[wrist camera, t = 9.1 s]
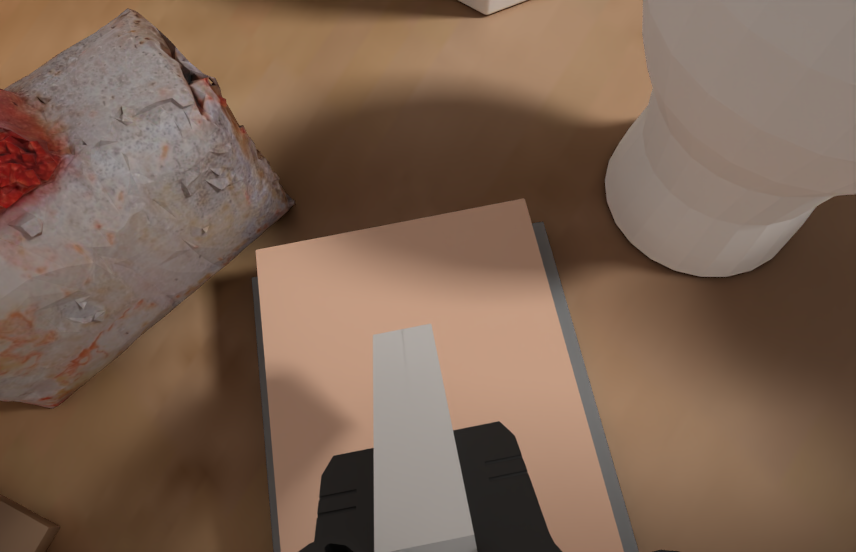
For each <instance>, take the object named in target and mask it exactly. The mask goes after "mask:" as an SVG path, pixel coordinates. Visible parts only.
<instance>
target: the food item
mask: <svg viewBox="0 0 856 552" xmlns="http://www.w3.org/2000/svg"><path fill="white" fill-rule="evenodd" d="M208 79H210V80H211V81H212V82H213V83H212V85H211V84H210V82H209V81H208ZM259 156H262V157H263V158H261V157H259ZM279 180H280V179H279V177H278V175H277V173H275V172H273V171H272V170H271V167H270V165H269V162H268V161H267V159H266V158H265V157H264V156H263V155H262V154H261V152H259V151H258V150H257V149H256V147H255V144H254V142H253V141H252V139H251V138H250V137H249V136H248V134H247V132H246V130H245V128H244V126H243V125H242V126H239V124H238V122H237V121H236V119H235V117H234V115H233V113H232V112H231V110H230V108H229V107H228V105H227V104H226V99H224V98H223V97H222V95H221V90H220V87H219V85H218V83H217V81H216V79H215V78H213V77H210V76H208V75H205V74H203V73H202V72H201V71H200V70H198V69H197V68H196V67H195V66H193V65H192V64H191V63H190V62H189V61H188V60H187V59H186V58H185V57H184V56H183V55H182V54H181V53H180V51H179V50H178V49H177V48H176V47H175V46H174V45H173V44H172V43H171V42H170V40H169V39H168V38H167V37H166V36H164V35H163V34H162V33H161V32H160V31H159V30H158V29H157V28H156V27H155V26H153V25H152V24H151V23H150V22H149V21H147V20H146V19H145V18H144V17H143V16H142V15H140V14H139V13H138V12H136V11H134V10H131V9H126V10H125V11H124V12H123V13H121V14H120V15H119V16H118V17H117V18H115V19H114V20H112V21H111V22H110V23H108V24H107V25H105V26H104V27H102V28H100V29H99V30H98V31H97V32H96V33H94V34H92V35H90V36H89V37H87V38H85V39H83V40H82V41H80V42H78V43H76V44H75V45H73V46H71V47H70V48H68V49H66V50H65V51H63V52H61V53H59V54H58V55H56V56H55V57H53V58H52V59H51V60H49V61H48V62H46V63H45V64H44V65H42V66H41V67H39V68H38V69H36V70H35V71H34V72H32V73H31V74H29V75H28V76H25V77H24V78H22V79H20V80H18V81H17V82H15V83H13V84H11V85H10V86H8V87H7V88H5V89H4V90H3V89H0V400H1V401H5V402H8V401H17V402H24V403H27V404H34V405H39V406H43V407H47V408H54V407H56V406H58V405H59V404H61V403H62V402H64V401H65V400H66V399H67V398H68V397H69V396H70V395H71V394H72V393H73V392H75V391H76V390H77V389H79V388H80V387H81V386H82V385H83V384H85V383H86V382H87V381H88V380H90V379H91V378H92V377H93V376H95V375H96V374H97V373H98V372H99V371H101V370H102V369H103V368H104V367H106V366H107V365H108V364H109V363H111V362H112V361H113V360H114V359H115V358H117V357H118V356H119V355H120V354H121V353H122V352H124V351H125V350H126V349H127V348H128V347H129V346H130V345H131V344H132V343H133V342H134V341H135V340H136V339H137V338H138V337H140V336H141V335H142V334H143V333H144V332H146V331H147V330H148V329H149V328H150V327H152V326H153V325H154V324H156V323H157V322H158V321H159V320H161V319H162V318H163V317H165V316H166V315H167V314H168V313H169V312H170V311H172V310H173V309H174V308H175V307H176V306H177V305H178V304H180V303H181V302H182V301H183V300H185V299H186V298H187V297H188V296H189V295H191V294H192V293H193V292H194V291H196V290H197V289H198V288H199V287H200V286H201V285H202V284H204V283H205V282H206V281H207V280H208V279H209V278H210V277H212V276H213V275H214V274H215V273H217V272H218V271H219V270H220V269H222V268H223V267H224V266H226V265H227V264H228V263H229V262H230V261H231V260H232V259H234V258H235V257H236V256H237V255H238V254H239V253H240V252H241V251H242V250H243V249H245V248H246V247H247V246H248V245H249V244H250V243H251V242H253V241H254V240H255V239H256V238H258V237H259V236H260V235H261V234H262V233H263V232H264V231H265V230H266V229H267V228H269V227H270V226H271V225H272V224H274V223H275V222H276V221H278V220H279V219H280V218H281V217H282V216H283V215H284V214H285V213H286V212H287V211H288V210H289V209H290V208H291V207H292V206H293V205H296V204H295V201H294V200H292V199H291V198H290V197H289V195H288V194H287V193H286V192H285V191H284V190H283V189H282V187H283V186H281V185H280V184H279V182H278V181H279Z"/></svg>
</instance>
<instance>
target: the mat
mask: <svg viewBox="0 0 856 552" xmlns="http://www.w3.org/2000/svg"><path fill="white" fill-rule="evenodd" d="M532 226H533V230H534V233H535V237H536V240H537V244H538V248H539V251H540V255H541V258H542V262H543V265H544V269H545V272H546V276H547V280H548V283H549V287H550V290H551V294H552V297H553V301H554V305H555V308H556V312H557V315H558V319H559V322H560V326H561V329H562V333H563V337H564V340H565V344H566V347H567V351H568V354H569V358H570V361H571V365H572V369H573V372H574V376H575V379H576V383H577V386H578V390H579V393H580V397H581V401H582V404H583V408H584V411H585V415H586V418H587V422H588V426H589V429H590V433H591V436H592V440H593V443H594V447H595V450H596V454H597V458H598V461H599V465H600V468H601V472H602V475H603V479H604V482H605V486H606V490H607V493H608V497H609V500H610V504H611V507H612V511H613V514H614V518H615V522H616V525H617V529H618V532H619V536H620V539H621V543H622V547H623V550H624V552H639V551H638V547H637V544H636V540H635V537H634V533H633V530H632V527H631V523H630V520H629V516H628V513H627V509H626V506H625V502H624V499H623V495H622V492H621V489H620V485H619V482H618V478H617V475H616V471H615V468H614V464H613V461H612V457H611V454H610V451H609V447H608V444H607V440H606V437H605V433H604V430H603V426H602V423H601V419H600V416H599V413H598V409H597V406H596V402H595V399H594V395H593V392H592V388H591V385H590V381H589V378H588V375H587V371H586V368H585V364H584V361H583V357H582V354H581V350H580V347H579V343H578V340H577V337H576V333H575V330H574V326H573V323H572V319H571V316H570V312H569V309H568V305H567V302H566V299H565V295H564V292H563V288H562V285H561V281H560V278H559V274H558V271H557V267H556V264H555V261H554V257H553V254H552V250H551V247H550V243H549V240H548V236H547V233H546V230H545V226H544V223H543V222H538V223H532ZM252 287H253V300H254V312H255V325H256V337H257V350H258V363H259V375H260V388H261V400H262V413H263V425H264V438H265V451H266V463H267V476H268V488H269V501H270V513H271V526H272V539H273V551H274V552H281V548H280V536H279V524H278V512H277V500H276V488H275V477H274V465H273V453H272V441H271V429H270V417H269V405H268V393H267V381H266V369H265V357H264V345H263V333H262V321H261V309H260V297H259V285H258V277H253V278H252Z"/></svg>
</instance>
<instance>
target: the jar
mask: <svg viewBox="0 0 856 552" xmlns="http://www.w3.org/2000/svg"><path fill="white" fill-rule="evenodd" d="M458 1H460V2H462V3H464V4H466V5H467V6H469V7H471V8H473V9H475V10H477V11H479V12H481V13H483V14H485V15H489V14H492V13H494V12H497V11H500V10H502V9H505V8H508V7H511V6H513V5H516V4H519V3H521V2H524V1H527V0H458Z"/></svg>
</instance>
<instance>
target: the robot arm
mask: <svg viewBox="0 0 856 552" xmlns="http://www.w3.org/2000/svg"><path fill="white" fill-rule="evenodd" d="M373 440H374V448H370V449H365V450H360V451H355V452H350V453H345V454H340V455H334V456H333V457H332V459H331V460H330V462H329V464H328V465H327V467H326V469H325V470H324V472H323V474H322V475H321V484H320V493H319V499H320V500H319V502H318V511H317V515H318V518H317V520H316V529H315V538H314V542H312V543H310V544H308V545H307V546H305V547H304V548H303V549H301V550H300V551H298V552H562V551H561V550H560V548H559V547H558V546H557V545H556V544H555V543H554V541H553V539H552V537H551V535H550V533H549V530H548V528H547V525H546V522H545V519H544V516H543V513H542V511H541V508H540V505H539V502H538V499H537V496H536V494H535V491H534V488H533V485H532V482H531V479H530V477H529V474H528V472H527V468H526V465H525V462H524V460H523V458H522V454H521V451H520V448H519V445H518V443H517V440H516V437H515V435H514V434H513V433H512V432H511V431H510V430H508V429H507V428H506V427H505V426H504V425H503V424H502V423H501V422H500V421H498V422H493V423H488V424H483V425H478V426H473V427H467V428H462V429H457V430H453V428H452V423H451V418H450V413H449V408H448V404H447V399H446V394H445V389H444V384H443V379H442V374H441V369H440V364H439V359H438V354H437V350H436V345H435V340H434V335H433V330H432V325H431V324H426V325H421V326H416V327H411V328H405V329H400V330H395V331H390V332H385V333H380V334H375V335H373ZM654 552H678V551H668V550H658V551H654Z"/></svg>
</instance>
